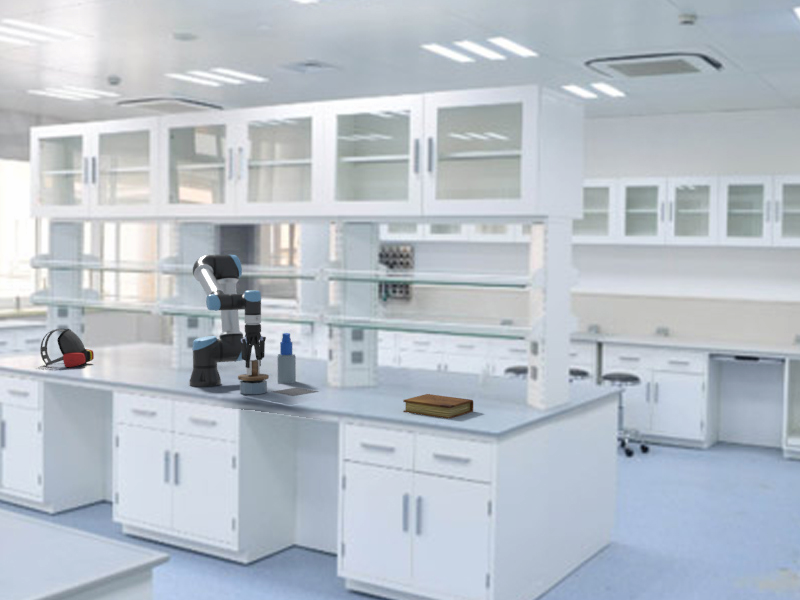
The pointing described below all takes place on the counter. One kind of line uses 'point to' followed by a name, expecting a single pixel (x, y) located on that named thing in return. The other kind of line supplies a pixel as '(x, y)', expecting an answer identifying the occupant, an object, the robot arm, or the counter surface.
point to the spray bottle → (286, 361)
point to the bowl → (253, 387)
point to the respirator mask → (68, 349)
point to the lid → (253, 374)
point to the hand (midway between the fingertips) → (253, 374)
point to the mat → (295, 391)
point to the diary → (438, 406)
